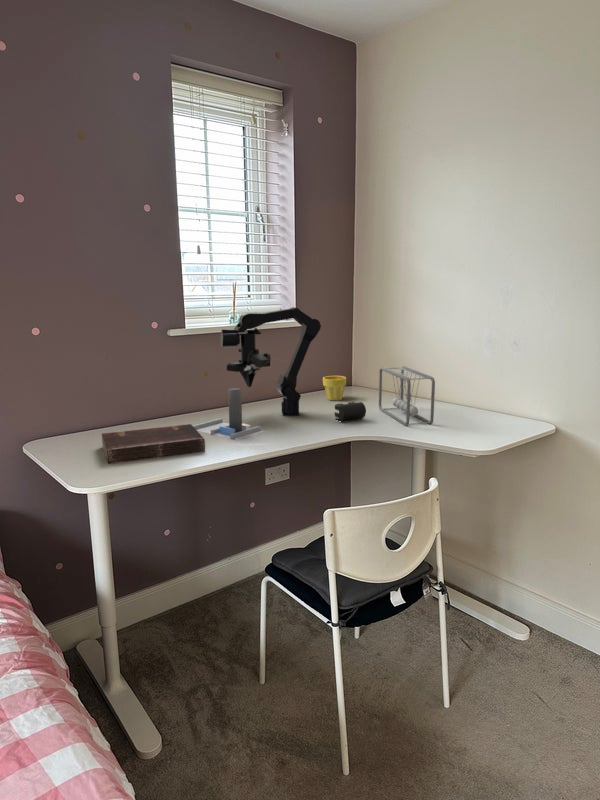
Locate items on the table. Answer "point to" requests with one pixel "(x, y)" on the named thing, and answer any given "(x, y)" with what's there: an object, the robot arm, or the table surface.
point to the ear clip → (245, 426)
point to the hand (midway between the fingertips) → (249, 386)
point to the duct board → (225, 429)
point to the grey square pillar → (235, 409)
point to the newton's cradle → (400, 401)
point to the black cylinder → (350, 411)
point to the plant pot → (334, 387)
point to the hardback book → (151, 443)
